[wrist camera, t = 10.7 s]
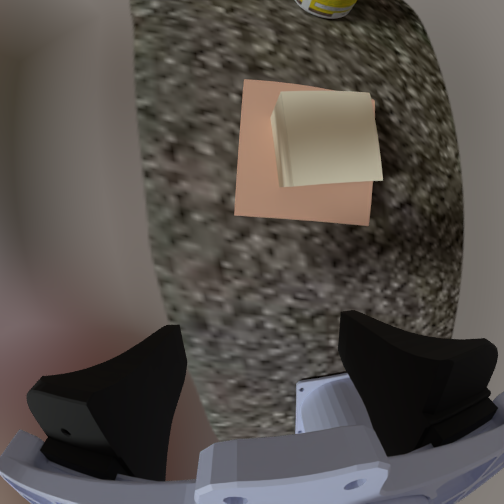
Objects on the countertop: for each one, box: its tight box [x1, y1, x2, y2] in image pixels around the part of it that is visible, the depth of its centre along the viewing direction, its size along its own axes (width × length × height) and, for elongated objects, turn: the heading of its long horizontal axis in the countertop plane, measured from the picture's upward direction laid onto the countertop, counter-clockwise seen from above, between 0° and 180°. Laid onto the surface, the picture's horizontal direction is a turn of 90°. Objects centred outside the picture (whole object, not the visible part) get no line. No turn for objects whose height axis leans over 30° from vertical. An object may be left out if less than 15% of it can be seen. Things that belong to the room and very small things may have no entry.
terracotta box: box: [234, 79, 375, 226], centre depth 18 cm, size 9×9×4 cm
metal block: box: [270, 91, 383, 187], centre depth 14 cm, size 4×4×5 cm
